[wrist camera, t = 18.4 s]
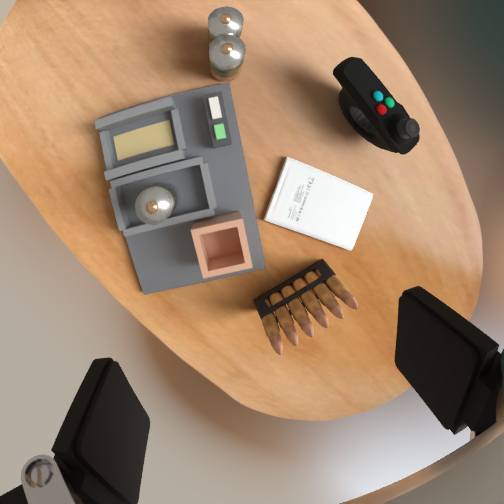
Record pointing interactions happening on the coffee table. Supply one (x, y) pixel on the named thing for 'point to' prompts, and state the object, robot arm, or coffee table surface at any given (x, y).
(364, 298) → the coffee table surface
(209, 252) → the pink hollow box
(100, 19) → the coffee table surface
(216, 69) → the cell
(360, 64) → the controller
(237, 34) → the cell
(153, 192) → the cell
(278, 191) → the external hard drive
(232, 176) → the board
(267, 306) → the ammunition clip
